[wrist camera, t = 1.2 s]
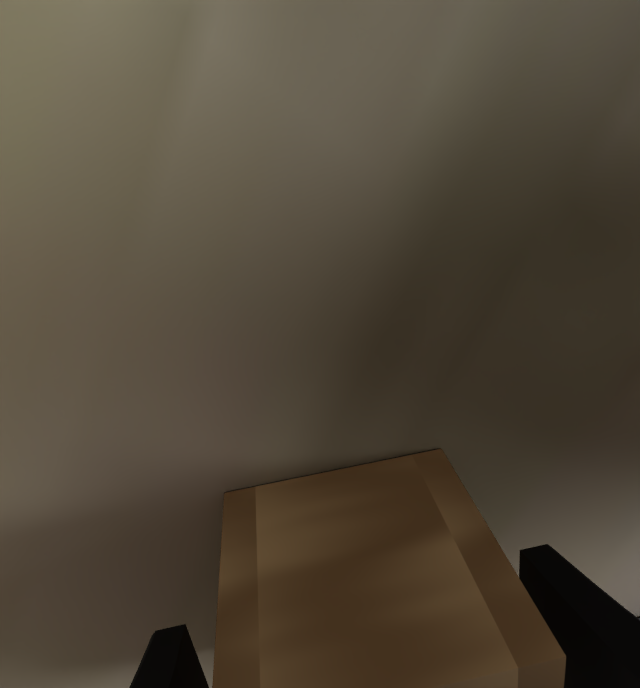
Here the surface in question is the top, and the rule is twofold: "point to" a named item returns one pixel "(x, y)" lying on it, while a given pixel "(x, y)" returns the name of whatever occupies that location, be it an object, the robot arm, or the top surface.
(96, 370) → the top surface
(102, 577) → the top surface
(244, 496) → the wooden cubby box
